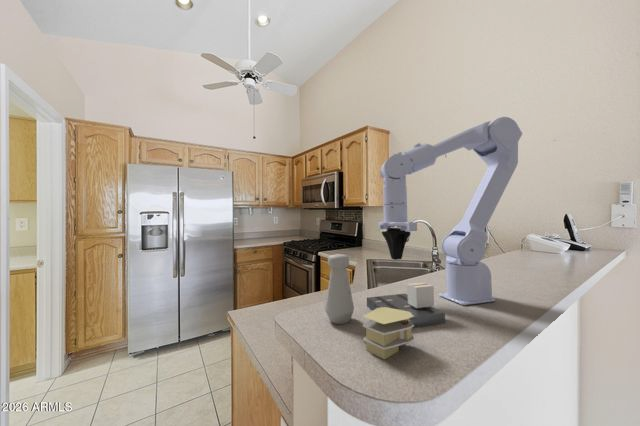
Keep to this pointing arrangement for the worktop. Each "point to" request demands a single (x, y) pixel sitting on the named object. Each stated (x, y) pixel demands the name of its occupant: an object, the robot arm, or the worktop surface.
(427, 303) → the white striped block
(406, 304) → the console
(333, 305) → the salt shaker
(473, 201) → the robot arm
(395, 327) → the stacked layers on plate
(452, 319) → the worktop surface
